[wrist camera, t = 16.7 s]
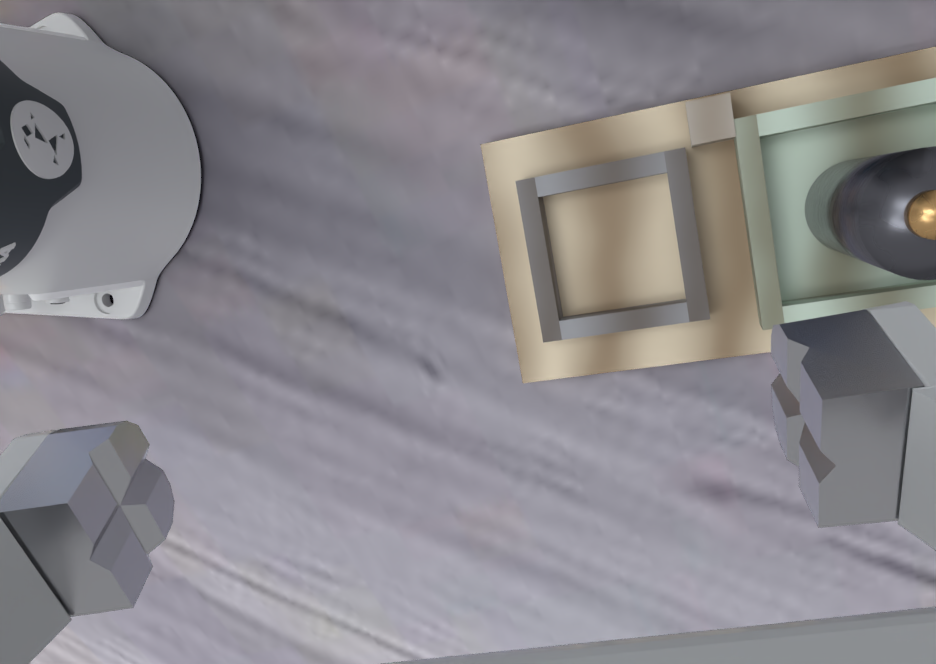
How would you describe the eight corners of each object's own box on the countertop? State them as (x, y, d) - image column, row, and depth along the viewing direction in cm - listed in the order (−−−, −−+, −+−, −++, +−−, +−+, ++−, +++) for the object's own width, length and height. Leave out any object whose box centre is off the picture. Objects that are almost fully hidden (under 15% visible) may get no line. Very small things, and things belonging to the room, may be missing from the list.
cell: (810, 259, 39) (870, 291, 27) (799, 168, 39) (856, 159, 26) (910, 245, 38) (1021, 271, 26) (900, 150, 37) (1009, 132, 25)
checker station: (528, 377, 46) (514, 392, 42) (487, 145, 44) (470, 142, 41) (988, 318, 39) (1017, 330, 36) (960, 44, 38) (987, 29, 34)
